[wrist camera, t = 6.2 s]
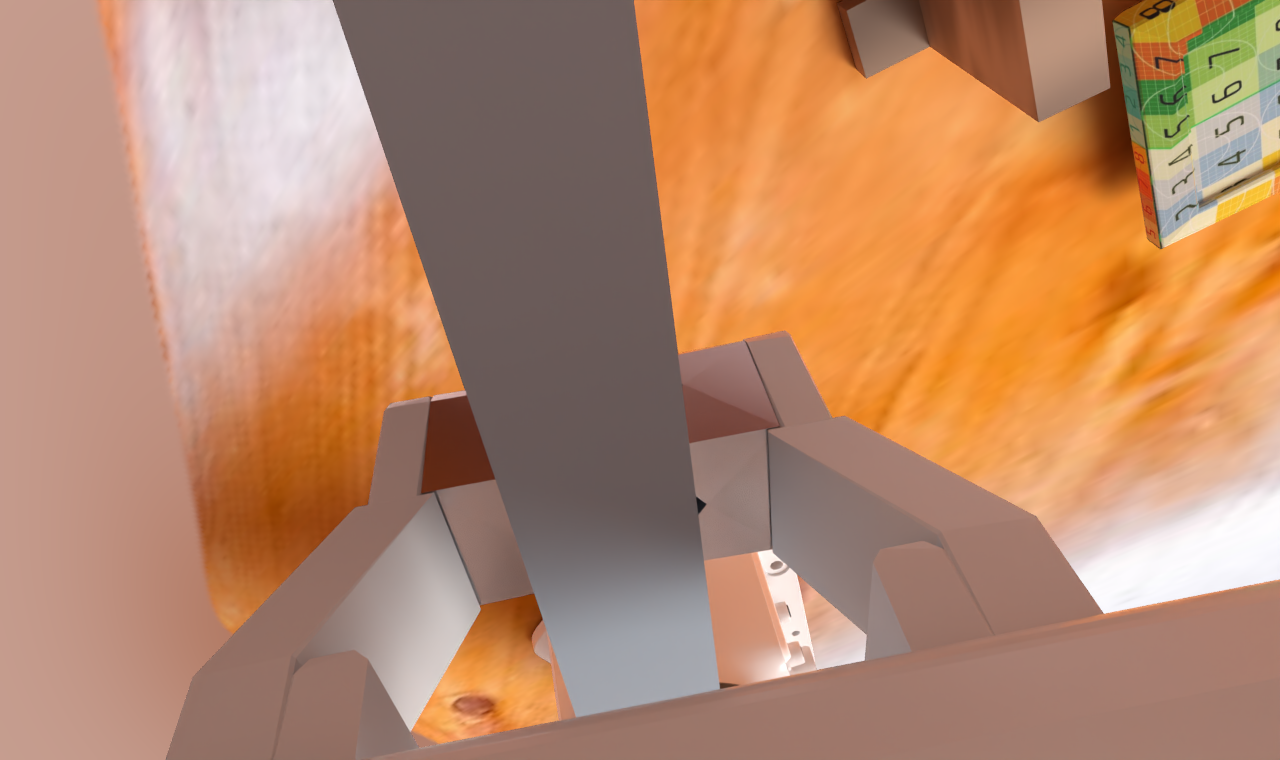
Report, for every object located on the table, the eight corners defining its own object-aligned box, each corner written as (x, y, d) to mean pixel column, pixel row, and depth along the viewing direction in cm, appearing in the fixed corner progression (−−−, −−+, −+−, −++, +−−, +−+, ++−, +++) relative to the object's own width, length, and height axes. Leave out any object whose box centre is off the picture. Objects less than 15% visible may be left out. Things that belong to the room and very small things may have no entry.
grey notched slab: (630, 360, 24) (745, 894, 13) (575, 370, 24) (643, 916, 13) (500, -400, 14) (513, -953, 3) (405, -384, 14) (33, -878, 3)
